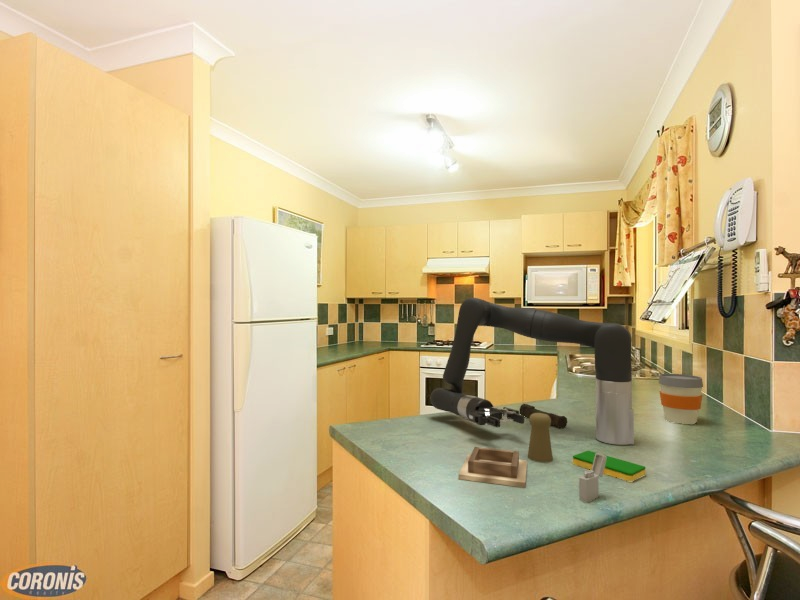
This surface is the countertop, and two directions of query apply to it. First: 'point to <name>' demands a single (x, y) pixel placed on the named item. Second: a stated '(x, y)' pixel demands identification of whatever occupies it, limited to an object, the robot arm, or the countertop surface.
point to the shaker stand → (494, 467)
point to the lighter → (592, 479)
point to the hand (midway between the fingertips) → (511, 421)
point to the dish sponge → (611, 466)
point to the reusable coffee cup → (680, 397)
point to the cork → (540, 438)
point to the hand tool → (555, 419)
